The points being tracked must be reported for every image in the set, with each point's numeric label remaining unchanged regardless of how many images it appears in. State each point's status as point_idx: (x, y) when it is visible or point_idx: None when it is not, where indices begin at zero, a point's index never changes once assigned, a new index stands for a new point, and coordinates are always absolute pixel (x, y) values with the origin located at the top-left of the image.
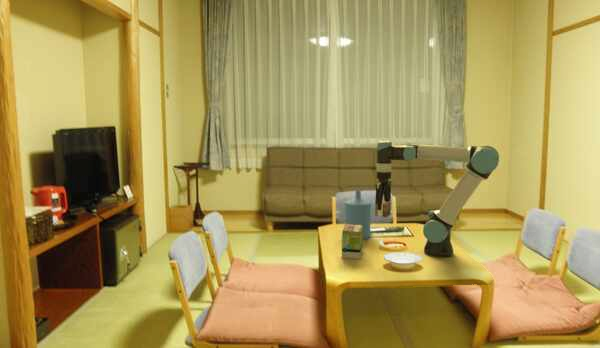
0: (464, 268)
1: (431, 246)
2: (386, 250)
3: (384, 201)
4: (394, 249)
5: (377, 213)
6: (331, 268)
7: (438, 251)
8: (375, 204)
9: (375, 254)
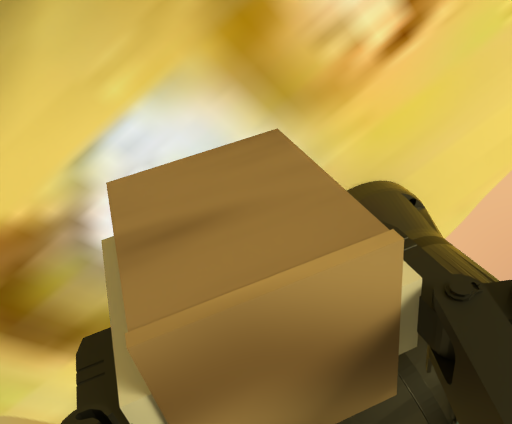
0: None
1: None
2: (228, 44)
3: (360, 342)
4: (281, 65)
5: (104, 259)
6: None
7: None
8: (125, 313)
9: (97, 54)
